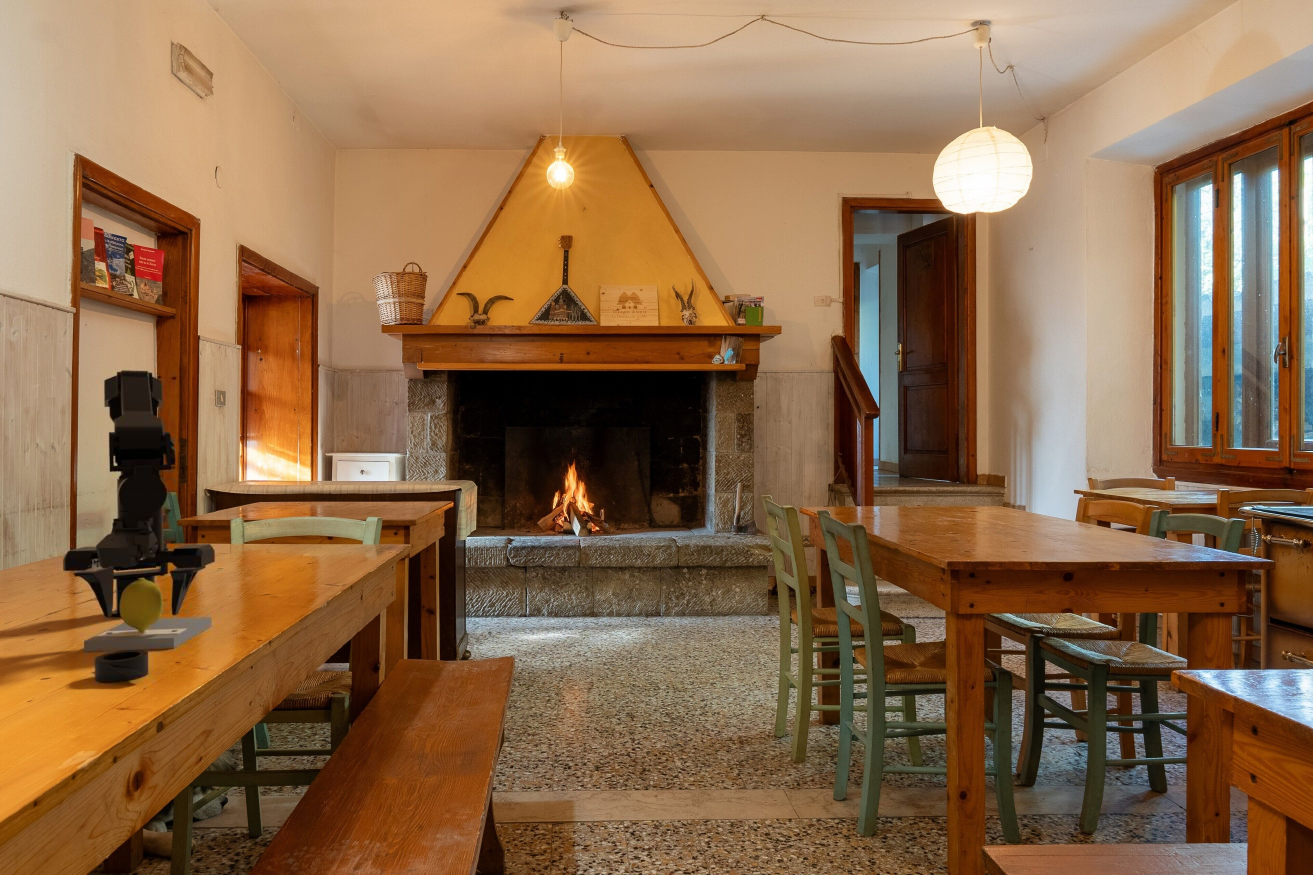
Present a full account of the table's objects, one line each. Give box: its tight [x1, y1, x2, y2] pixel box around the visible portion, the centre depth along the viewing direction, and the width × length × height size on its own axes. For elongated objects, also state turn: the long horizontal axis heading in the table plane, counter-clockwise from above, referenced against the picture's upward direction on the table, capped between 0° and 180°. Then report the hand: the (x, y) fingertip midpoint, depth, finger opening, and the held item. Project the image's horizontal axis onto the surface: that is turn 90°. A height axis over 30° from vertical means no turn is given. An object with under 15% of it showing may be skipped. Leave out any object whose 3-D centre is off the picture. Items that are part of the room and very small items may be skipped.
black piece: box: [94, 650, 150, 684], centre depth 111 cm, size 8×10×3 cm
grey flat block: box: [83, 616, 212, 653], centre depth 131 cm, size 14×12×2 cm
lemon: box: [120, 578, 164, 632], centre depth 128 cm, size 6×6×8 cm
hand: (141, 615), depth 128 cm, fingers open, 9 cm apart
